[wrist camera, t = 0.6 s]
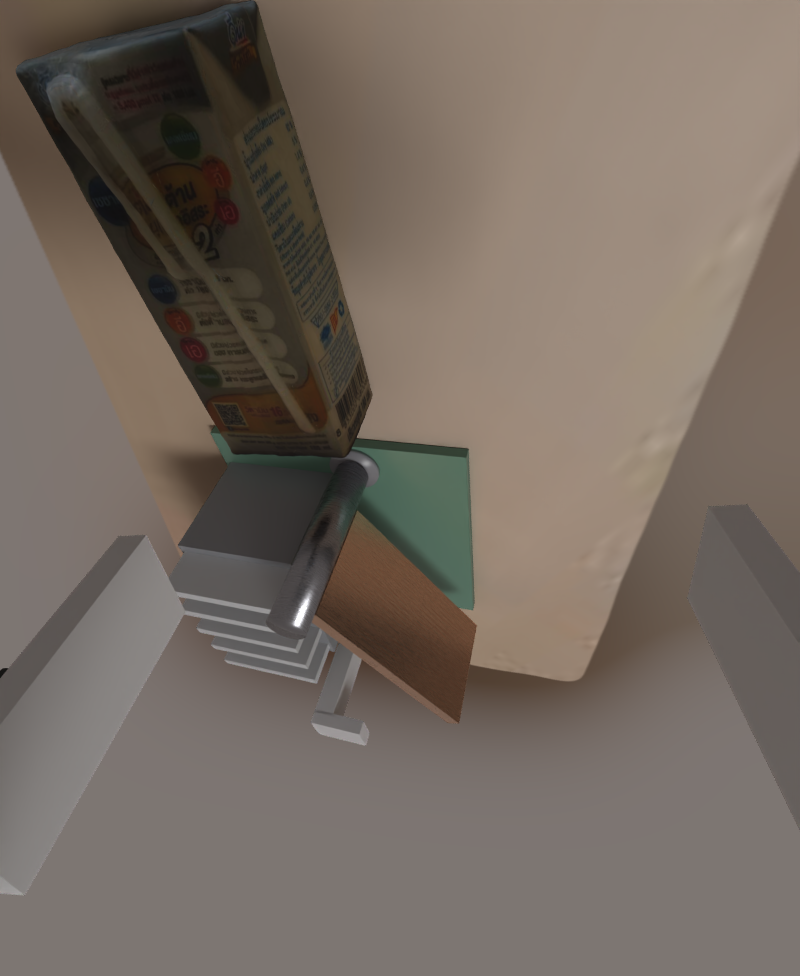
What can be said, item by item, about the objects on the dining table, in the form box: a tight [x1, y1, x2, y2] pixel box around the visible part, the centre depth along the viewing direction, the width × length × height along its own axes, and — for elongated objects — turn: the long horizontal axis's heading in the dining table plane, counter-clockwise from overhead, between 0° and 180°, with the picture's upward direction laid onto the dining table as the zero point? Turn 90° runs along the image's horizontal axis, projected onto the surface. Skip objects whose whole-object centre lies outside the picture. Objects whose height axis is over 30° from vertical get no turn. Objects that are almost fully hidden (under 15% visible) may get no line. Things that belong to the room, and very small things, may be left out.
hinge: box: [266, 462, 477, 724], centre depth 37 cm, size 18×2×12 cm, turn 37°
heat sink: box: [169, 426, 475, 746], centre depth 40 cm, size 20×19×14 cm
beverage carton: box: [16, 0, 372, 458], centre depth 26 cm, size 8×19×7 cm, turn 11°
